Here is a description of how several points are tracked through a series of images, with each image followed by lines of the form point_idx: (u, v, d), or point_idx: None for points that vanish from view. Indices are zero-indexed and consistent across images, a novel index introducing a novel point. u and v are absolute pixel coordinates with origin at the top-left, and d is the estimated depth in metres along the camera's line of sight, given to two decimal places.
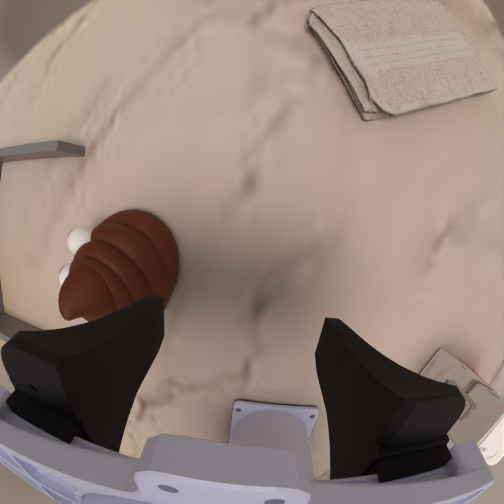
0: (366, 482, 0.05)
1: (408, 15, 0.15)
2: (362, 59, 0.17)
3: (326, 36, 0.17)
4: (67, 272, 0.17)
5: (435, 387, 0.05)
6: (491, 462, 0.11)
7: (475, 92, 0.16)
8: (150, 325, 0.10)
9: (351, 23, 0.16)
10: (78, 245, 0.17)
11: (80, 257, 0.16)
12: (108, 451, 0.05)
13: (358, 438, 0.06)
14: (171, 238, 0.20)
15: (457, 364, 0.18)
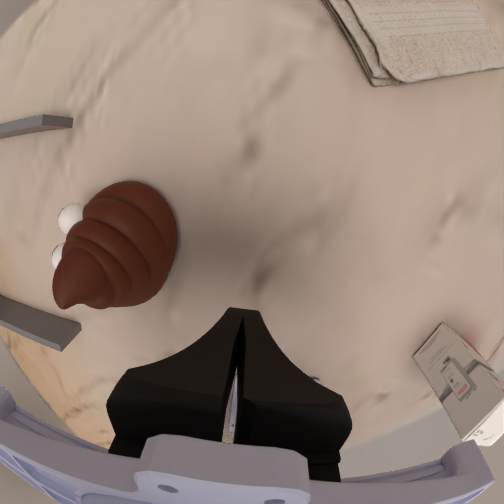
0: (366, 482, 0.05)
1: None
2: (372, 23, 0.13)
3: None
4: (60, 253, 0.16)
5: (309, 393, 0.05)
6: (487, 443, 0.13)
7: (489, 67, 0.13)
8: (238, 340, 0.10)
9: None
10: (70, 225, 0.15)
11: (72, 239, 0.14)
12: (108, 451, 0.05)
13: (235, 436, 0.06)
14: (168, 210, 0.19)
15: (459, 342, 0.19)
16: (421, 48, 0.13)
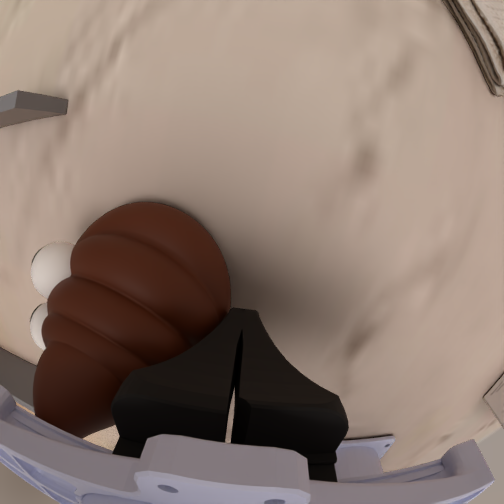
0: (366, 482, 0.05)
1: None
2: (492, 18, 0.06)
3: None
4: (41, 325, 0.09)
5: (305, 393, 0.05)
6: None
7: None
8: None
9: None
10: (50, 286, 0.08)
11: (55, 321, 0.07)
12: (108, 451, 0.05)
13: (232, 436, 0.06)
14: (219, 253, 0.12)
15: None
16: None
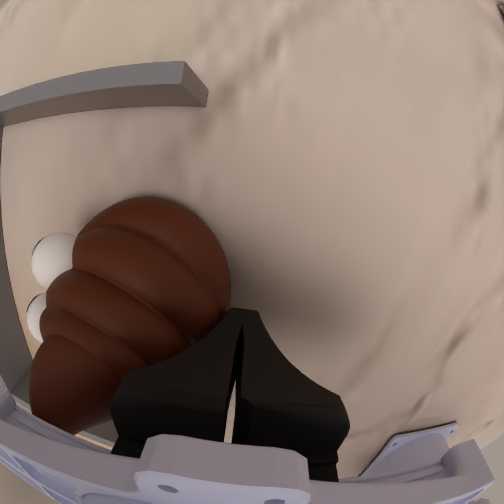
0: (366, 482, 0.05)
1: None
2: None
3: None
4: (38, 316, 0.09)
5: (307, 393, 0.05)
6: None
7: None
8: (240, 340, 0.10)
9: None
10: (50, 277, 0.08)
11: (55, 314, 0.07)
12: (108, 451, 0.05)
13: (233, 436, 0.06)
14: (222, 253, 0.12)
15: None
16: None
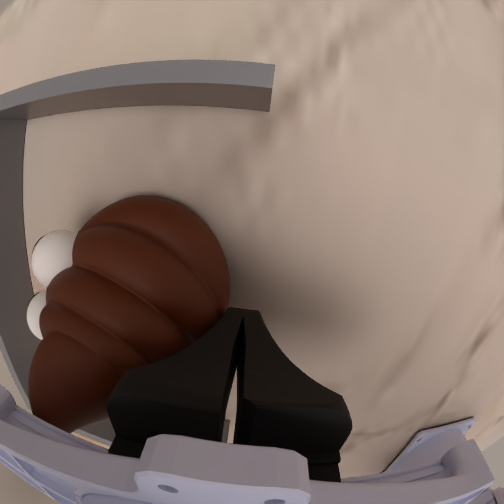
0: (366, 482, 0.05)
1: None
2: None
3: None
4: (38, 314, 0.09)
5: (309, 393, 0.05)
6: None
7: None
8: (238, 340, 0.10)
9: None
10: (50, 275, 0.08)
11: (55, 311, 0.07)
12: (108, 451, 0.05)
13: (235, 436, 0.06)
14: (221, 252, 0.12)
15: None
16: None
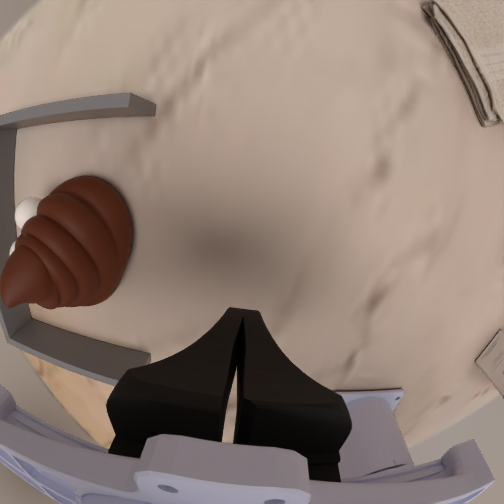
0: (366, 482, 0.05)
1: None
2: (484, 66, 0.12)
3: (451, 34, 0.11)
4: None
5: (309, 393, 0.05)
6: None
7: None
8: (238, 340, 0.10)
9: (470, 23, 0.10)
10: (24, 220, 0.13)
11: (22, 236, 0.12)
12: None
13: (235, 436, 0.06)
14: (123, 209, 0.17)
15: None
16: None
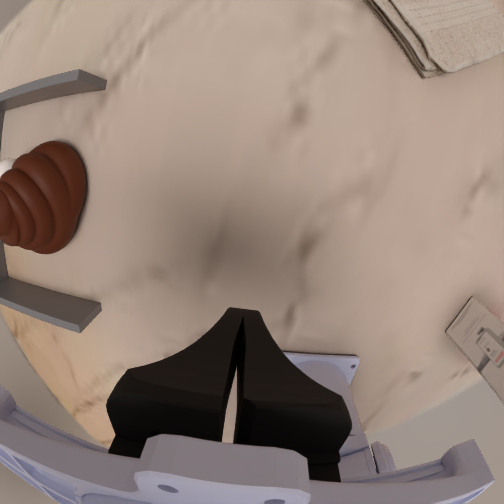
0: (366, 482, 0.05)
1: None
2: (414, 19, 0.13)
3: None
4: None
5: (309, 393, 0.05)
6: None
7: None
8: (238, 340, 0.10)
9: None
10: (1, 174, 0.14)
11: None
12: None
13: (235, 436, 0.06)
14: (78, 164, 0.18)
15: (491, 312, 0.18)
16: (456, 40, 0.12)
